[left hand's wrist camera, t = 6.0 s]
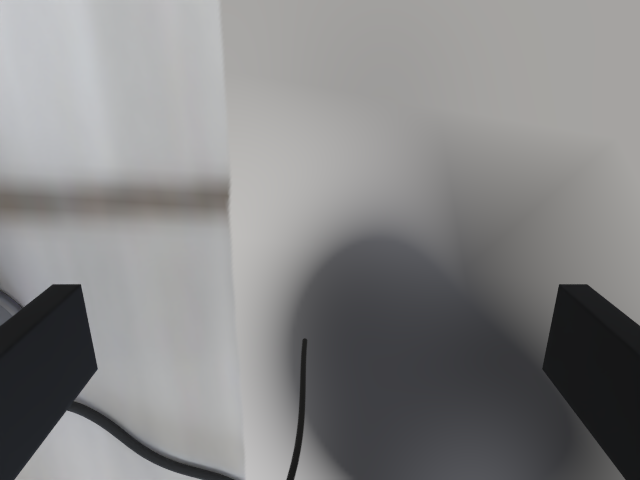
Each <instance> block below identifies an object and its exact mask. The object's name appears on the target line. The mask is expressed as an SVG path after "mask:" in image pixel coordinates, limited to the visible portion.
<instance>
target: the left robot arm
mask: <svg viewBox="0 0 640 480" xmlns="http://www.w3.org/2000/svg"><path fill="white" fill-rule="evenodd" d="M306 355H307V339H306V338H304V339H303V340H302V351H301V369H300V397H299V414H298V425H297V433H296V440H295V446H294V451H293V456H292V460H291V464H290V468H289V472H288V475H287V479H286V480H294V479H295V475H296V471H297V467H298V462H299V457H300V452H301V446H302V439H303V431H304V419H305V399H306ZM97 369H98V368H97V363H96V358H95V353H94V348H93V343H92V338H91V333H90V328H89V323H88V318H87V313H86V308H85V303H84V298H83V293H82V288H81V284H53V285H52V286H50V287H49V288H48V289H47V290H45V291H44V292H43V293H41V294H40V295H39V296H38V297H36V298H35V299H34V300H33V301H31V302H30V303H29V304H27V305H26V306H25V307H24V308H21V307H20V306H19V305H18V304H17V303H16V302H15V301H14V300H13V299H12V298H10V297H9V296H8V295H6V294H5V293H3V292H2V291H0V480H14V479H15V478H16V477H17V475H18V474H19V473H20V471H21V470H22V469H23V467H24V466H25V465H26V463H27V462H28V461H29V460H30V458H31V457H32V456H33V454H34V453H35V452H36V450H37V449H38V448H39V446H40V445H41V444H42V442H43V441H44V440H45V438H46V437H47V436H48V434H49V433H50V432H51V430H52V429H53V428H54V426H55V425H56V424H57V422H58V421H59V420H60V418H61V417H62V416H63V414H64V413H65V412H66V410H67V411H71V412H74V413H77V414H79V415H81V416H84V417H85V418H87V419H89V420H91V421H93V422H95V423H96V424H98V425H99V426H101V427H102V428H104V429H105V430H107V431H108V432H109V433H111V434H112V435H113V436H115V437H116V438H117V439H118V440H120V441H121V442H122V443H124V444H125V445H126V446H127V447H129V448H130V449H132V450H133V451H134V452H136V453H137V454H139V455H140V456H142V457H144V458H145V459H147V460H149V461H151V462H153V463H154V464H157V465H159V466H161V467H163V468H166V469H168V470H171V471H174V472H177V473H180V474H183V475H187V476H191V477H194V478H198V479H202V480H234V479H231V478H229V477H226V476H223V475H221V474H217V473H214V472H211V471H207V470H203V469H199V468H196V467H192V466H188V465H185V464H182V463H179V462H176V461H173V460H170V459H168V458H166V457H164V456H161V455H159V454H157V453H155V452H154V451H152V450H150V449H149V448H147V447H145V446H144V445H142V444H141V443H139V442H138V441H137V440H135V439H134V438H133V437H131V436H130V435H129V434H128V433H126V432H125V431H124V430H123V429H121V428H120V427H119V426H118V425H116V424H115V423H114V422H112V421H111V420H109V419H108V418H106V417H105V416H103V415H102V414H100V413H98V412H97V411H95V410H93V409H91V408H89V407H87V406H85V405H82V404H80V403H77V402H74V400H75V398H76V397H77V396H78V394H79V393H80V392H81V391H82V389H83V388H84V387H85V385H86V384H87V383H88V381H89V380H90V379H91V377H92V376H93V375H94V373H95V372H96V371H97ZM542 369H543V371H544V372H545V373H546V375H547V376H548V377H549V379H550V380H551V381H552V383H553V384H554V385H555V386H556V388H557V389H558V391H559V392H560V393H561V395H562V396H563V397H564V398H565V400H566V401H567V402H568V404H569V405H570V406H571V408H572V409H573V410H574V412H575V413H576V414H577V416H578V417H579V418H580V420H581V421H582V422H583V424H584V425H585V426H586V428H587V429H588V430H589V431H590V433H591V434H592V436H593V437H594V438H595V440H596V441H597V442H598V444H599V445H600V446H601V448H602V449H603V450H604V452H605V453H606V454H607V456H608V457H609V458H610V459H611V461H612V462H613V463H614V465H615V466H616V467H617V469H618V470H619V471H620V473H621V474H622V475H623V477H624V478H625V479H626V480H640V326H639V325H638V324H637V323H635V322H634V321H633V320H632V319H630V318H629V317H628V316H626V315H625V314H624V313H623V312H621V311H620V310H619V309H618V308H616V307H615V306H614V305H613V304H611V303H610V302H609V301H607V300H606V299H605V298H604V297H602V296H601V295H600V294H598V293H597V292H596V291H595V290H593V289H592V288H591V287H590V286H588V285H587V284H560V285H559V288H558V293H557V298H556V303H555V308H554V313H553V318H552V323H551V328H550V333H549V338H548V343H547V348H546V353H545V358H544V363H543V368H542Z"/></svg>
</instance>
